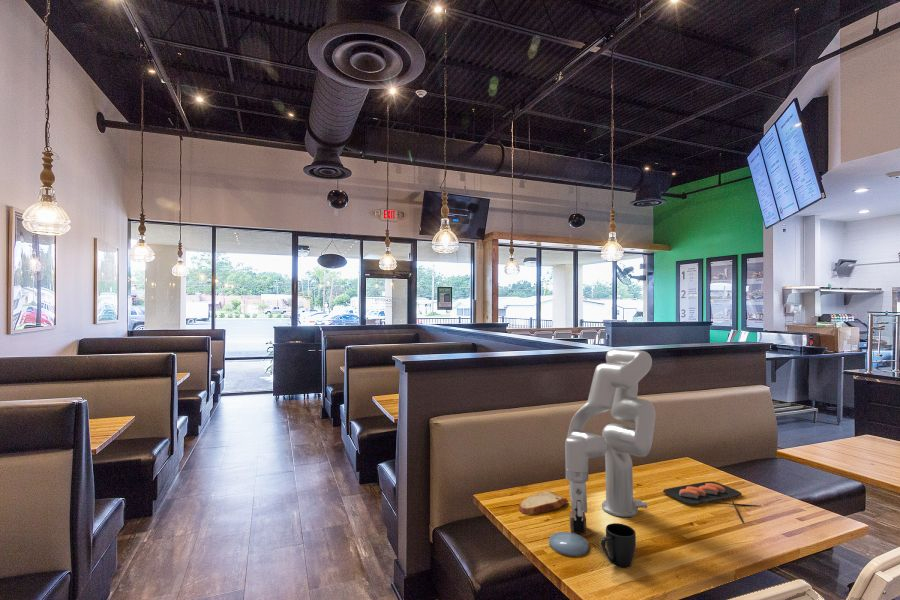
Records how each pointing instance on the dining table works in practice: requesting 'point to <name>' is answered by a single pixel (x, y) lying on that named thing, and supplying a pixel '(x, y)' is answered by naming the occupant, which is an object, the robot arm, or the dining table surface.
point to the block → (571, 514)
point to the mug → (619, 544)
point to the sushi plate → (704, 494)
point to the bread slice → (541, 503)
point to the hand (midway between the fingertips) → (577, 527)
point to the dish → (568, 543)
